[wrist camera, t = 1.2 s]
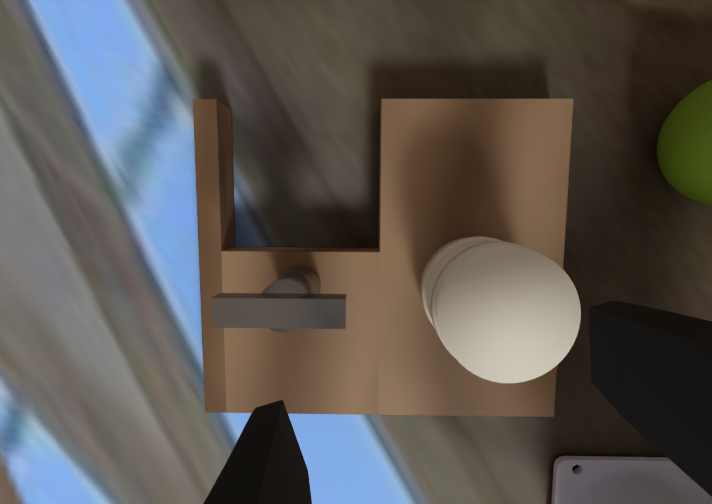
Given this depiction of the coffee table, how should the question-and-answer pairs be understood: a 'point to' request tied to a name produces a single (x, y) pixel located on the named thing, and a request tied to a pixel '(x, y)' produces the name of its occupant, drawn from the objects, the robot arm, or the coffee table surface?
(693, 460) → the robot arm
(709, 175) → the snail figurine
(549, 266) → the ribbed cream cylinder
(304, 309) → the hook post
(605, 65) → the coffee table surface
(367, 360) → the shelf board
